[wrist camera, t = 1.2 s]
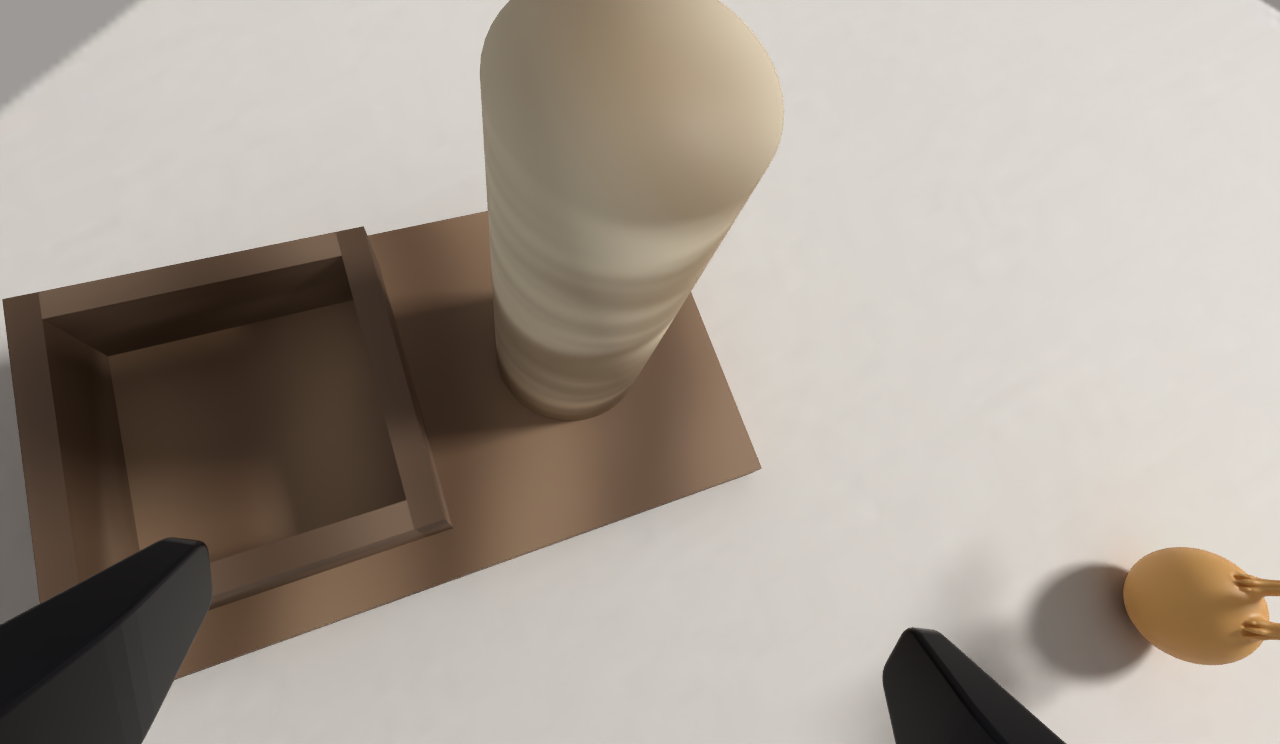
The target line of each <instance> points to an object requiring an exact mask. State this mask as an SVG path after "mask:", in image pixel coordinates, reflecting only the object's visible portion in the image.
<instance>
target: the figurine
mask: <svg viewBox="0 0 1280 744" xmlns="http://www.w3.org/2000/svg"><path fill="white" fill-rule="evenodd" d="M1265 596H1280V581H1279V580H1267V579H1261V578H1257V577H1254V576H1251V575H1248V574H1247V573H1245V572H1244V571H1243V570H1242V569H1241V568H1239V567H1238V566H1237V565H1235V564H1234V563H1232V562H1230V561H1229V560H1227V559H1225V558H1223V557H1221V556H1219V555H1216V554H1214V553H1211V552H1208V551H1205V550H1200V549H1195V548H1187V547H1173V548H1166V549H1161V550H1158V551H1155V552H1152V553H1150V554H1148V555H1146V556H1144V557H1143V558H1141V559H1140V560H1139V561H1138V562H1137V563H1136V564H1135V565H1134V566H1133V567H1132V568H1131V570H1130V571H1129V573H1128V575H1127V577H1126V580H1125V583H1124V589H1123V597H1124V604H1125V607H1126V610H1127V613H1128V615H1129V617H1130V619H1131V621H1132V623H1133V624H1134V626H1135V627H1136V628H1137V630H1138V631H1139V632H1140V633H1141V634H1142V635H1143V636H1144V637H1145V638H1146V639H1147V640H1148V641H1149V642H1150V643H1151V644H1153V645H1154V646H1155V647H1157V648H1158V649H1160V650H1162V651H1163V652H1165V653H1167V654H1169V655H1171V656H1173V657H1175V658H1178V659H1181V660H1184V661H1187V662H1191V663H1196V664H1202V665H1222V664H1228V663H1232V662H1236V661H1238V660H1241V659H1243V658H1245V657H1247V656H1248V655H1250V654H1251V653H1253V652H1254V651H1255V650H1256V649H1257V648H1258V647H1259V646H1260V645H1261V643H1262V642H1263V640H1280V624H1279V623H1273V622H1269V612H1268V607H1267V603H1266V601H1265V598H1264V597H1265Z"/></svg>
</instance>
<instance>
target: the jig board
mask: <svg viewBox="0 0 1280 744" xmlns="http://www.w3.org/2000/svg"><path fill="white" fill-rule="evenodd" d="M2 300H3V308H4V316H5V324H6V332H7V341H8V349H9V357H10V365H11V373H12V381H13V389H14V397H15V405H16V413H17V421H18V429H19V437H20V445H21V453H22V461H23V470H24V478H25V486H26V494H27V502H28V510H29V518H30V526H31V534H32V542H33V550H34V558H35V566H36V574H37V582H38V590H39V599H40V603H42V602H44V601H46V600H48V599H50V598H52V597H54V596H56V595H57V594H59V593H61V592H63V591H65V590H67V589H69V588H71V587H72V586H74V585H76V584H78V583H80V582H82V581H84V580H86V579H88V578H89V577H91V576H93V575H95V574H97V573H99V572H101V571H103V570H104V569H106V568H108V567H110V566H112V565H114V564H116V563H118V562H120V561H121V560H123V559H125V558H127V557H129V556H131V555H133V554H135V553H137V552H138V551H140V550H142V549H144V548H146V547H148V546H150V545H152V544H153V543H155V542H157V541H159V540H162V539H164V538H169V537H175V538H183V539H191V540H199V541H202V542H204V543H205V544H206V545H207V547H208V551H209V559H210V569H211V579H212V588H213V594H212V600H211V604H210V607H209V610H208V612H207V614H206V616H205V618H204V620H203V622H202V624H201V626H200V628H199V630H198V632H197V634H196V636H195V639H194V641H193V643H192V645H191V647H190V649H189V651H188V653H187V655H186V657H185V659H184V661H183V663H182V665H181V667H180V669H179V671H178V673H177V675H176V677H175V679H174V680H176V679H178V678H181V677H184V676H187V675H190V674H192V673H195V672H198V671H201V670H204V669H206V668H209V667H212V666H215V665H217V664H220V663H223V662H226V661H229V660H231V659H234V658H237V657H240V656H243V655H245V654H248V653H251V652H254V651H257V650H259V649H262V648H265V647H268V646H270V645H273V644H276V643H279V642H282V641H284V640H287V639H290V638H293V637H296V636H298V635H301V634H304V633H307V632H310V631H312V630H315V629H318V628H321V627H324V626H326V625H329V624H332V623H335V622H337V621H340V620H343V619H346V618H349V617H351V616H354V615H357V614H360V613H363V612H365V611H368V610H371V609H374V608H377V607H379V606H382V605H385V604H388V603H391V602H393V601H396V600H399V599H402V598H404V597H407V596H410V595H413V594H416V593H418V592H421V591H424V590H427V589H430V588H432V587H435V586H438V585H441V584H444V583H446V582H449V581H452V580H455V579H457V578H460V577H463V576H466V575H469V574H471V573H474V572H477V571H480V570H483V569H485V568H488V567H491V566H494V565H497V564H499V563H502V562H505V561H508V560H511V559H513V558H516V557H519V556H522V555H524V554H527V553H530V552H533V551H536V550H538V549H541V548H544V547H547V546H550V545H552V544H555V543H558V542H561V541H564V540H566V539H569V538H572V537H575V536H578V535H580V534H583V533H586V532H589V531H591V530H594V529H597V528H600V527H603V526H605V525H608V524H611V523H614V522H617V521H619V520H622V519H625V518H628V517H631V516H633V515H636V514H639V513H642V512H644V511H647V510H650V509H653V508H656V507H658V506H661V505H664V504H667V503H670V502H672V501H675V500H678V499H681V498H684V497H686V496H689V495H692V494H695V493H698V492H700V491H703V490H706V489H709V488H711V487H714V486H717V485H720V484H723V483H725V482H728V481H731V480H734V479H737V478H739V477H742V476H745V475H748V474H750V473H753V472H755V471H757V470H759V469H761V465H760V463H759V460H758V458H757V455H756V453H755V450H754V448H753V446H752V443H751V441H750V438H749V436H748V433H747V431H746V428H745V426H744V423H743V421H742V418H741V416H740V413H739V411H738V408H737V406H736V403H735V401H734V398H733V396H732V393H731V391H730V388H729V386H728V383H727V381H726V378H725V376H724V373H723V371H722V368H721V366H720V363H719V361H718V358H717V356H716V353H715V351H714V348H713V346H712V343H711V341H710V338H709V336H708V333H707V331H706V328H705V326H704V323H703V321H702V318H701V316H700V313H699V311H698V308H697V306H696V303H695V301H694V298H693V296H692V293H691V292H690V293H689V295H688V297H687V298H686V300H685V302H684V303H683V305H682V306H681V308H680V310H679V311H678V313H677V314H676V316H675V318H674V319H673V321H672V322H671V324H670V326H669V327H668V329H667V331H666V332H665V334H664V335H663V337H662V339H661V340H660V342H659V343H658V345H657V347H656V348H655V350H654V351H653V353H652V355H651V356H650V358H649V360H648V361H647V363H646V364H645V366H644V368H643V369H642V371H641V372H640V374H639V376H638V377H637V379H636V380H635V382H634V384H633V385H632V387H631V389H630V390H629V392H628V393H627V394H626V395H625V397H624V398H623V399H622V400H621V401H620V402H619V403H618V404H617V405H615V406H614V407H613V408H611V409H610V410H608V411H606V412H605V413H603V414H601V415H598V416H595V417H593V418H589V419H585V420H577V421H563V420H556V419H552V418H548V417H545V416H542V415H540V414H538V413H535V412H534V411H532V410H530V409H529V408H527V407H526V406H524V405H523V404H522V403H521V402H519V401H518V400H517V399H516V398H515V396H514V395H513V394H512V393H511V392H510V390H509V389H508V388H507V386H506V384H505V382H504V381H503V379H502V376H501V374H500V371H499V367H498V363H497V355H496V339H495V322H494V305H493V288H492V271H491V254H490V237H489V219H488V211H485V212H480V213H476V214H471V215H466V216H461V217H456V218H451V219H447V220H442V221H437V222H432V223H427V224H422V225H417V226H413V227H408V228H403V229H398V230H393V231H388V232H383V233H379V234H374V235H369V236H367V234H366V231H365V229H364V226H363V227H358V228H353V229H349V230H344V231H339V232H334V233H329V234H324V235H319V236H314V237H309V238H304V239H299V240H294V241H289V242H284V243H279V244H274V245H269V246H264V247H259V248H254V249H249V250H245V251H240V252H235V253H230V254H225V255H220V256H215V257H210V258H205V259H200V260H195V261H190V262H185V263H180V264H175V265H170V266H165V267H160V268H155V269H150V270H145V271H141V272H136V273H131V274H126V275H121V276H116V277H111V278H106V279H101V280H96V281H91V282H86V283H81V284H76V285H71V286H66V287H61V288H56V289H51V290H46V291H41V292H37V293H32V294H27V295H22V296H17V297H12V298H7V299H2Z"/></svg>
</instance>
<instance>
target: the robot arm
mask: <svg viewBox="0 0 1280 744" xmlns="http://www.w3.org/2000/svg"><path fill="white" fill-rule="evenodd" d="M212 594H213V588H212V579H211V569H210V559H209V551H208V547H207V545H206V544H205V543H204V542H202V541H199V540H191V539H183V538H175V537H169V538H164V539H162V540H159V541H157V542H155V543H153V544H152V545H150V546H148V547H146V548H144V549H142V550H140V551H138V552H137V553H135V554H133V555H131V556H129V557H127V558H125V559H123V560H121V561H120V562H118V563H116V564H114V565H112V566H110V567H108V568H106V569H104V570H103V571H101V572H99V573H97V574H95V575H93V576H91V577H89V578H88V579H86V580H84V581H82V582H80V583H78V584H76V585H74V586H72V587H71V588H69V589H67V590H65V591H63V592H61V593H59V594H57V595H56V596H54V597H52V598H50V599H48V600H46V601H44V602H42V603H40V604H39V605H37V606H35V607H33V608H31V609H29V610H27V611H25V612H24V613H22V614H20V615H18V616H16V617H14V618H12V619H10V620H8V621H7V622H5V623H3V624H1V625H0V744H141V743H142V742H143V740H144V738H145V736H146V734H147V733H148V731H149V729H150V727H151V725H152V723H153V721H154V719H155V717H156V715H157V713H158V711H159V709H160V707H161V705H162V703H163V701H164V699H165V697H166V695H167V693H168V691H169V689H170V687H171V685H172V683H173V681H174V679H175V677H176V675H177V673H178V671H179V669H180V667H181V665H182V663H183V661H184V659H185V657H186V655H187V653H188V651H189V649H190V647H191V645H192V643H193V641H194V639H195V636H196V634H197V632H198V630H199V628H200V626H201V624H202V622H203V620H204V618H205V616H206V614H207V612H208V610H209V607H210V604H211V600H212ZM883 687H884V692H885V697H886V701H887V706H888V710H889V715H890V719H891V724H892V728H893V733H894V738H895V742H896V744H1066V743H1065V742H1064V741H1062V740H1061V739H1060V738H1059V737H1058V736H1057V735H1056V734H1054V733H1053V732H1052V731H1051V730H1050V729H1049V728H1048V727H1047V726H1045V725H1044V724H1043V723H1042V722H1041V721H1040V720H1039V719H1038V718H1036V717H1035V716H1034V715H1033V714H1032V713H1031V712H1030V711H1028V710H1027V709H1026V708H1025V707H1024V706H1023V705H1022V704H1021V703H1019V702H1018V701H1017V700H1016V699H1015V698H1014V697H1013V696H1011V695H1010V694H1009V693H1008V692H1007V691H1006V690H1005V689H1004V688H1002V687H1001V686H1000V685H999V684H998V683H997V682H996V681H995V680H993V679H992V678H991V677H990V676H989V675H988V674H987V673H985V672H984V671H983V670H982V669H981V668H980V667H979V666H978V665H976V664H975V663H974V662H973V661H972V660H971V659H970V658H968V657H967V656H966V655H965V654H964V653H963V652H962V651H961V650H959V649H958V648H957V647H956V646H955V645H954V644H953V643H952V642H950V641H949V640H948V639H947V638H946V637H945V636H944V635H942V634H941V633H940V632H938V631H935V630H930V629H922V628H914V627H912V628H908V629H906V630H905V631H904V632H903V633H902V635H901V637H900V638H899V640H898V642H897V644H896V646H895V647H894V649H893V651H892V653H891V655H890V656H889V658H888V660H887V662H886V664H885V666H884V670H883Z"/></svg>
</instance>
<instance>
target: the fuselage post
mask: <svg viewBox="0 0 1280 744" xmlns="http://www.w3.org/2000/svg"><path fill="white" fill-rule="evenodd" d="M480 83H481V100H482V117H483V134H484V151H485V168H486V185H487V202H488V219H489V237H490V254H491V271H492V288H493V305H494V322H495V339H496V355H497V363H498V367H499V371H500V374H501V376H502V379H503V381H504V382H505V384H506V386H507V388H508V389H509V390H510V392H511V393H512V394H513V395H514V396H515V398H516V399H517V400H518V401H519V402H521V403H522V404H523V405H524V406H526V407H527V408H529V409H530V410H532V411H534V412H535V413H538V414H540V415H542V416H545V417H548V418H552V419H556V420H563V421H577V420H585V419H589V418H593V417H595V416H598V415H601V414H603V413H605V412H606V411H608V410H610V409H611V408H613V407H614V406H615V405H617V404H618V403H619V402H620V401H621V400H622V399H623V398H624V397H625V395H626V394H627V393H628V392H629V390H630V389H631V387H632V385H633V384H634V382H635V380H636V379H637V377H638V376H639V374H640V372H641V371H642V369H643V368H644V366H645V364H646V363H647V361H648V360H649V358H650V356H651V355H652V353H653V351H654V350H655V348H656V347H657V345H658V343H659V342H660V340H661V339H662V337H663V335H664V334H665V332H666V331H667V329H668V327H669V326H670V324H671V322H672V321H673V319H674V318H675V316H676V314H677V313H678V311H679V310H680V308H681V306H682V305H683V303H684V302H685V300H686V298H687V297H688V295H689V293H690V292H691V290H692V289H693V287H694V285H695V284H696V282H697V281H698V279H699V277H700V276H701V274H702V273H703V271H704V269H705V268H706V266H707V264H708V263H709V261H710V260H711V258H712V256H713V255H714V253H715V252H716V250H717V248H718V247H719V245H720V244H721V242H722V240H723V239H724V237H725V235H726V234H727V232H728V231H729V229H730V227H731V226H732V224H733V223H734V221H735V219H736V218H737V216H738V215H739V213H740V211H741V210H742V208H743V207H744V205H745V203H746V202H747V200H748V198H749V197H750V195H751V194H752V192H753V190H754V189H755V187H756V186H757V184H758V182H759V181H760V179H761V178H762V176H763V174H764V173H765V171H766V169H767V168H768V166H769V164H770V163H771V161H772V159H773V158H774V156H775V153H776V151H777V148H778V145H779V143H780V139H781V135H782V130H783V122H784V104H783V95H782V90H781V86H780V82H779V78H778V76H777V73H776V71H775V68H774V66H773V63H772V61H771V59H770V57H769V56H768V54H767V52H766V50H765V48H764V47H763V45H762V44H761V43H760V41H759V40H758V38H757V37H756V36H755V34H754V33H753V32H752V31H751V30H750V28H749V27H748V26H747V25H746V24H745V23H744V22H743V21H742V20H741V19H740V18H739V17H738V16H737V15H736V14H735V13H734V12H733V11H732V10H730V9H729V8H728V7H727V6H725V5H724V4H723V3H721V2H720V1H719V0H510V1H509V2H508V3H507V4H506V5H505V6H504V8H503V9H502V10H501V11H500V12H499V14H498V15H497V17H496V18H495V20H494V22H493V23H492V25H491V27H490V29H489V32H488V34H487V36H486V38H485V42H484V46H483V50H482V54H481V64H480Z"/></svg>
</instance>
